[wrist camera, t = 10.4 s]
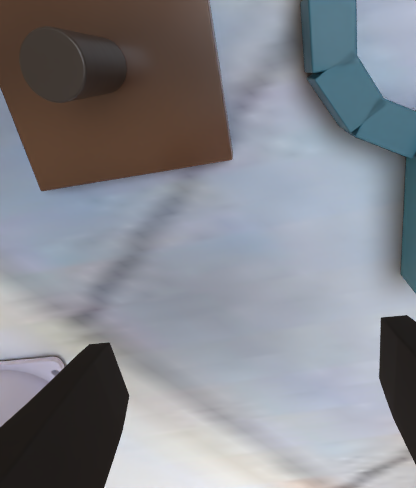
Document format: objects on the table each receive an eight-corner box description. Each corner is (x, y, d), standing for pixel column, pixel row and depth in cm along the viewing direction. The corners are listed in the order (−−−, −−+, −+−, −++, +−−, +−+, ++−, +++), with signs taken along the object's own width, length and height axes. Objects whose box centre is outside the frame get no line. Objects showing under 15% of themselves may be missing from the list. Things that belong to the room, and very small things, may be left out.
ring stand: (233, 154, 17) (230, 190, 12) (52, 184, 18) (-18, 228, 13) (194, -99, 13) (166, -200, 8) (-31, -37, 14) (-173, -91, 9)
